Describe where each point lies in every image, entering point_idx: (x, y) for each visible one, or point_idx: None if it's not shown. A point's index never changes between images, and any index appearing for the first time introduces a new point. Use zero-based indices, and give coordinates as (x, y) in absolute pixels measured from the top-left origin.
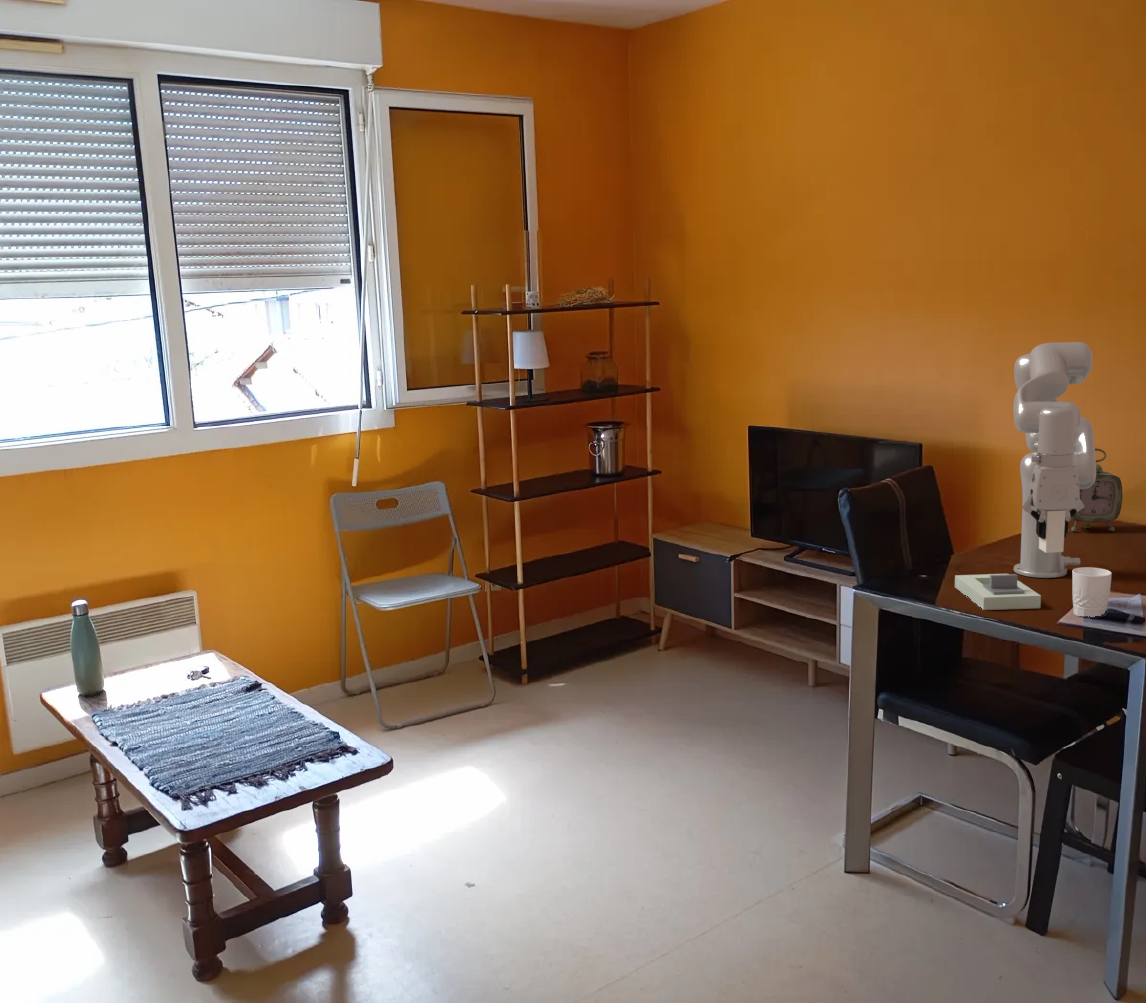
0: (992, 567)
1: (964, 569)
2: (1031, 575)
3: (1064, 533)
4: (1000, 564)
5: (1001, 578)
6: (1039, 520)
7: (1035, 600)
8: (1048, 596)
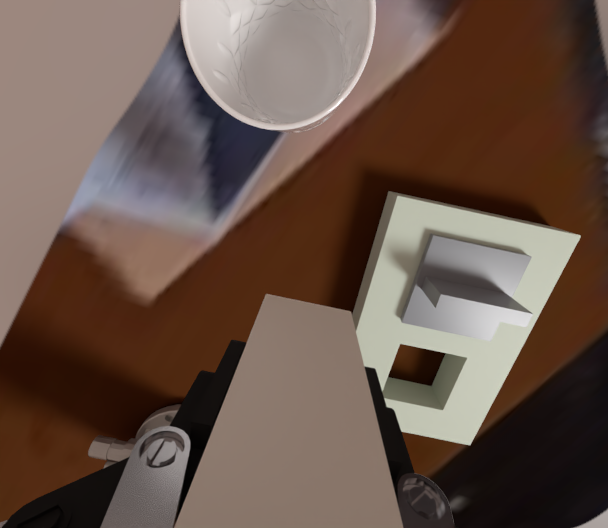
0: None
1: None
2: None
3: (236, 355)
4: None
5: (492, 301)
6: (441, 498)
7: (410, 197)
8: (293, 283)
